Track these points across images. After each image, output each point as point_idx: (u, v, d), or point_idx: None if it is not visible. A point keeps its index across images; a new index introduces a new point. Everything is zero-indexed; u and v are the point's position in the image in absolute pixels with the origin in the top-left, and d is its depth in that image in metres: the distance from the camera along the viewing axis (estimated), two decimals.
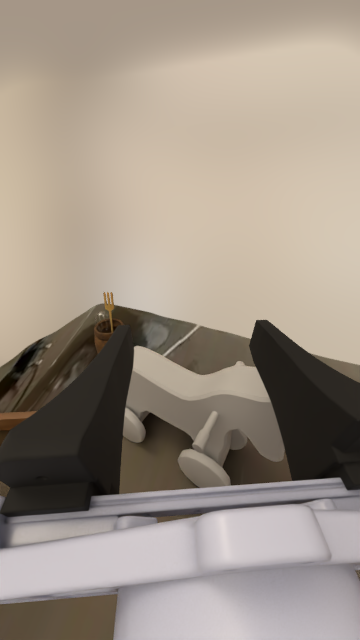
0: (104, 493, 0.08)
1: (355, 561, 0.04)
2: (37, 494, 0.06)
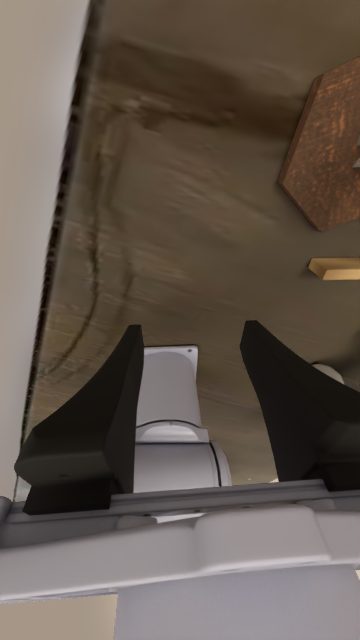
0: (122, 492, 0.08)
1: (355, 561, 0.04)
2: (59, 492, 0.06)
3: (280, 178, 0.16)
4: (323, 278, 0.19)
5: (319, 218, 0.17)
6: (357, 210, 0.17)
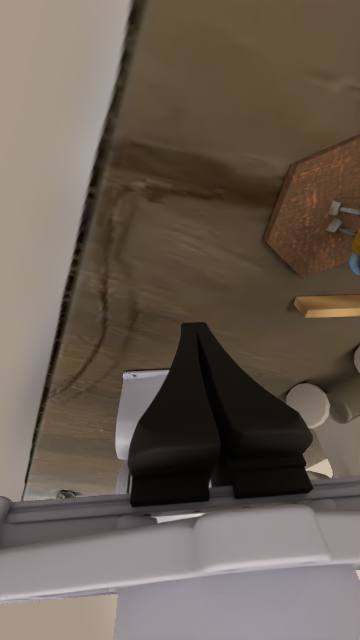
0: None
1: (355, 561, 0.04)
2: (160, 485, 0.07)
3: (265, 237, 0.19)
4: (305, 316, 0.22)
5: (300, 267, 0.20)
6: (332, 261, 0.20)
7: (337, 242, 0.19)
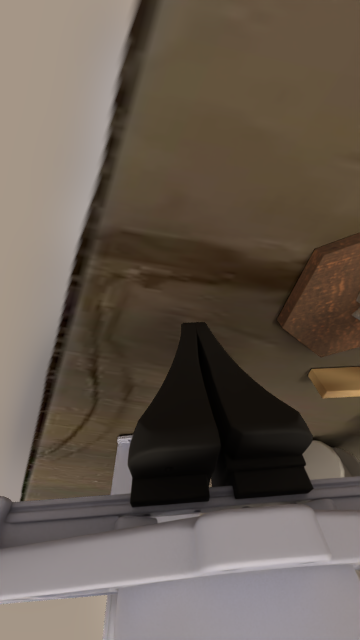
0: None
1: (355, 561, 0.04)
2: (160, 485, 0.07)
3: (280, 319, 0.16)
4: (323, 397, 0.19)
5: (319, 348, 0.17)
6: (356, 342, 0.17)
7: None
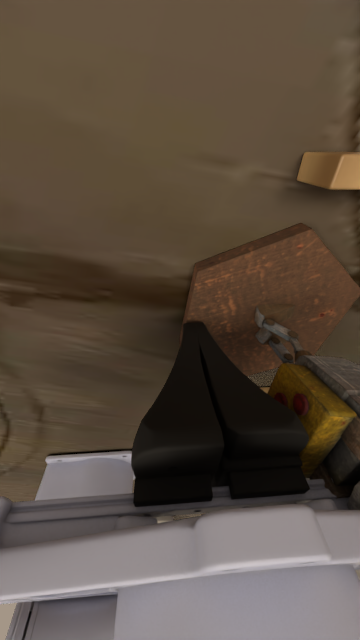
0: None
1: (355, 561, 0.04)
2: (163, 484, 0.07)
3: (180, 339, 0.14)
4: None
5: None
6: (272, 363, 0.16)
7: None
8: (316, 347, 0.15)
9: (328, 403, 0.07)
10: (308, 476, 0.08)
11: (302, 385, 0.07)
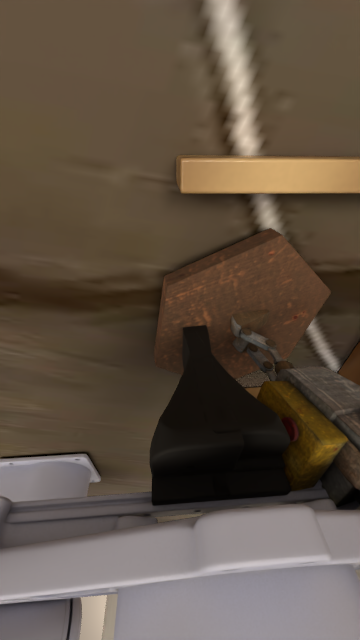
0: None
1: (355, 561, 0.04)
2: (181, 483, 0.07)
3: (154, 355, 0.13)
4: None
5: None
6: (250, 367, 0.15)
7: None
8: (291, 347, 0.15)
9: (319, 429, 0.06)
10: None
11: (289, 408, 0.07)
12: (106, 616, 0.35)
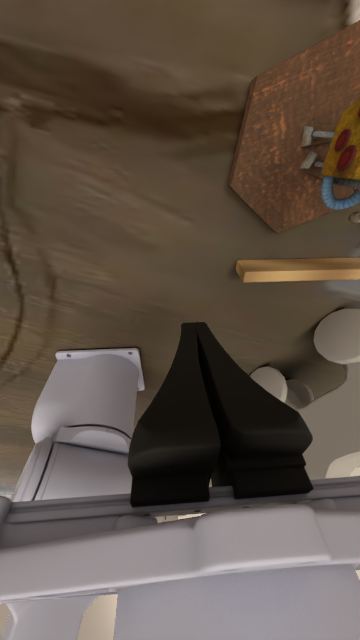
0: None
1: (355, 561, 0.04)
2: (160, 485, 0.07)
3: (229, 181, 0.16)
4: (243, 280, 0.19)
5: (273, 220, 0.17)
6: (311, 211, 0.17)
7: (315, 185, 0.16)
8: (353, 189, 0.16)
9: None
10: None
11: None
12: None
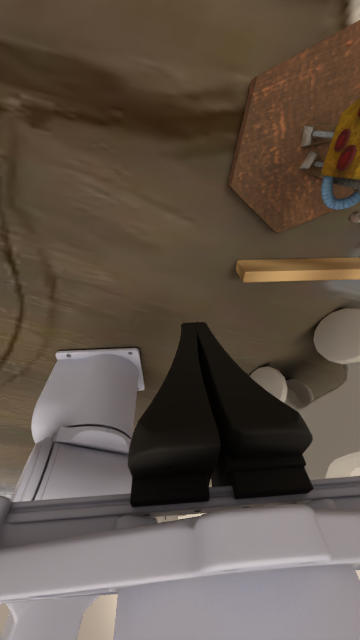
0: None
1: (355, 561, 0.04)
2: (160, 485, 0.07)
3: (229, 181, 0.16)
4: (243, 280, 0.19)
5: (273, 220, 0.17)
6: (311, 211, 0.17)
7: (315, 185, 0.16)
8: (353, 189, 0.16)
9: None
10: None
11: None
12: None
